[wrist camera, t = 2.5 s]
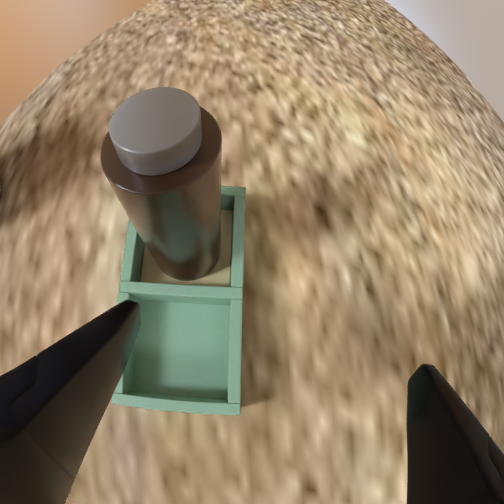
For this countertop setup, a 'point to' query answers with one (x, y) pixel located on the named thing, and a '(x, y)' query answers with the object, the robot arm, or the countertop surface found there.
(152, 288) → the caddy
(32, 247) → the countertop surface
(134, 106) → the pepper mill
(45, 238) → the countertop surface
